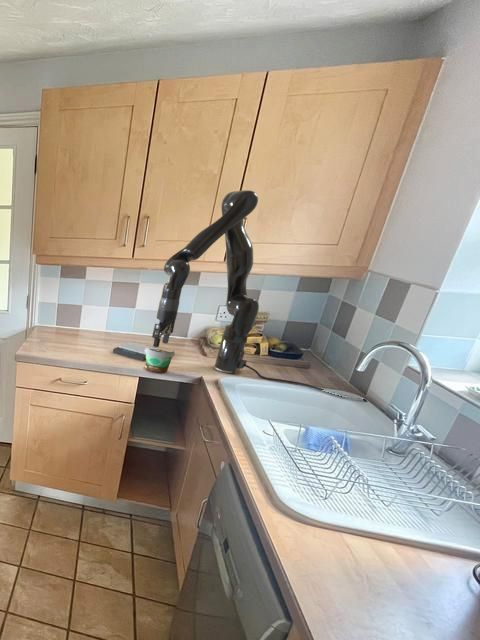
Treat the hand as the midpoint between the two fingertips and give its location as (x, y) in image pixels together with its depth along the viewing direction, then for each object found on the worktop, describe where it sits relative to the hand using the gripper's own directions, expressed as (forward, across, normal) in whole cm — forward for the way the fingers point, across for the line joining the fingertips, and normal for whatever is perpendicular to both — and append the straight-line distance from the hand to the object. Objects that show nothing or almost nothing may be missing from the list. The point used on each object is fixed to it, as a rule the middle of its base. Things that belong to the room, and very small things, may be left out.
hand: (160, 345), depth 180 cm
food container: (+13, 0, 0) cm, 13 cm away
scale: (+12, +16, +18) cm, 27 cm away
